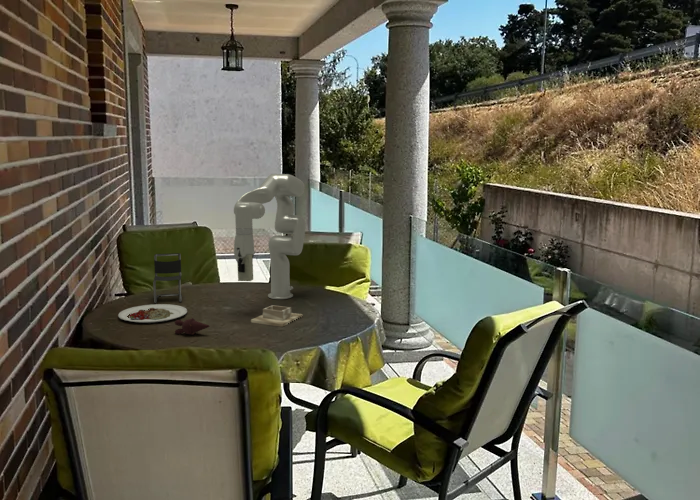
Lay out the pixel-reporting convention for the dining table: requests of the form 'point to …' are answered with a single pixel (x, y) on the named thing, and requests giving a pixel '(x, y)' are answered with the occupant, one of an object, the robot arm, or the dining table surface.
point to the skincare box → (246, 269)
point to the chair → (167, 268)
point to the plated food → (152, 313)
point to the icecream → (189, 326)
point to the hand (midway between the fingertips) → (245, 270)
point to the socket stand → (276, 316)
